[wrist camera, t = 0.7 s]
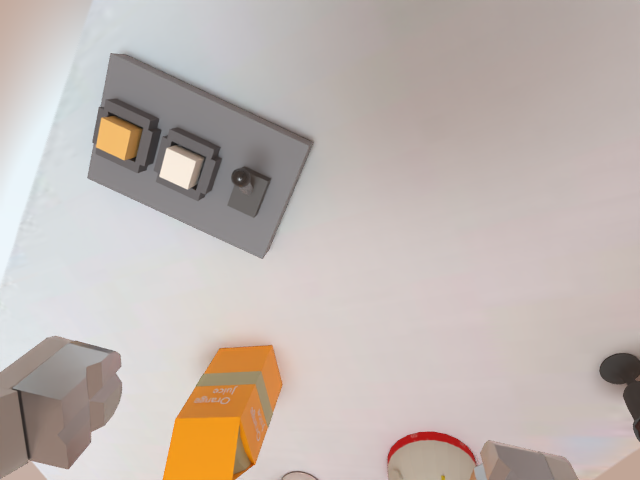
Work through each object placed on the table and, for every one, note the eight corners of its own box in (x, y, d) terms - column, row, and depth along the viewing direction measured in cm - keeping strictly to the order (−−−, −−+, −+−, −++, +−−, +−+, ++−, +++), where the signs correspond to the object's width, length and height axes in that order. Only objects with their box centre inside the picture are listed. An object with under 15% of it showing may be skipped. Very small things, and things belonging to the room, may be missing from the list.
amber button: (114, 115, 47) (101, 117, 45) (142, 128, 47) (130, 131, 45) (108, 144, 49) (95, 147, 47) (136, 156, 49) (124, 160, 47)
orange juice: (283, 385, 64) (241, 508, 45) (231, 387, 66) (170, 506, 47) (272, 344, 61) (223, 456, 43) (218, 347, 63) (149, 457, 45)
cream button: (176, 144, 47) (166, 147, 45) (204, 157, 47) (195, 161, 45) (169, 172, 49) (159, 176, 47) (196, 184, 49) (187, 189, 47)
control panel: (126, 54, 49) (99, 51, 44) (313, 142, 49) (306, 148, 45) (102, 173, 55) (76, 181, 50) (268, 250, 55) (258, 265, 51)
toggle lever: (243, 179, 47) (235, 162, 41) (258, 186, 48) (252, 170, 41) (235, 194, 47) (226, 179, 40) (251, 201, 47) (244, 188, 41)
